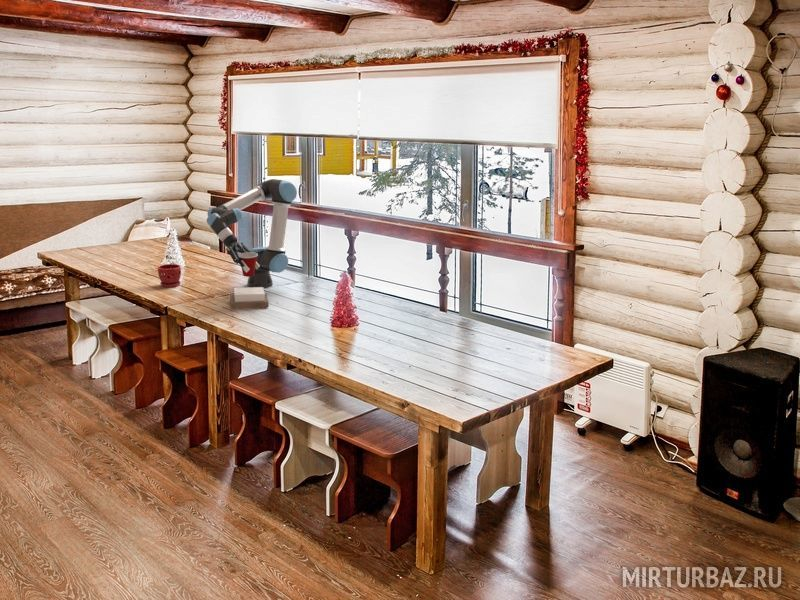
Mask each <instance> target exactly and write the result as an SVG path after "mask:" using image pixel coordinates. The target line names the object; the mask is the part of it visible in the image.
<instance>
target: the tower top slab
mask: <svg viewBox="0 0 800 600" xmlns="http://www.w3.org/2000/svg"><path fill="white" fill-rule="evenodd" d="M265 293H266V292H265V290H264V287H234V288H233V294H234V297H235V302H250V301H265Z"/></svg>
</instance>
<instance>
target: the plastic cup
mask: <svg viewBox="0 0 800 600" xmlns="http://www.w3.org/2000/svg"><path fill="white" fill-rule="evenodd" d="M257 256H258V254H257V253H254V252H245V253H239V257H240V258H241V261H242V260H243V261H244V263H245V264H246V265H247V266H248V268H249V269H250V270H249V271H248V272H247V273H246V272H245V271H244V269H243V268H242V267H241V266H240V267H241V271H242V276H244V277H248V278H249V276H254V271H255V265H256V259H257Z"/></svg>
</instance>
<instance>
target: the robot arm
mask: <svg viewBox="0 0 800 600" xmlns="http://www.w3.org/2000/svg"><path fill="white" fill-rule="evenodd" d="M297 193H298V190H297V187H296V186H295V184H294V183H293V182H291V181H289V180H287V179H286V180H283V179H277V178H272V179H268V180H265V181H262V182H260V183H258V184H257V185H255V186H254V187H253V188H252V189H251V190H249V191H246V192H245V193H243V194H241V195H239V196H236V197H235V198H233V199H231V200H229V201H227V202H226V203H223V204H222V205H219V206H216V207H213V206H212V207H209V209H208V210H207V218H206V223H207V225H208V226H209V228H210V229H211V230H212V231H213V232H214V233H215V235H216V236H217V237H218V238H219V240H220V241H221V242H222V243H223V245H224V246H225V247H226V249H225V250H226V252H228V254H229V255H230V257H231V259H232V261H233V263H234V264H236V265H240V267H242V268H243V269H244V271H245V272H246V273H247V272H248V271H249V270H250V269H249V268H248V266H247V265H246V264H245V263H244V261H243V260H242V261H241V258H240V257H239V254H240V253H245V252H254V253H257V254H258V256H257V259H256V265H255V271H254V276H249V277H248V278H247V281H246V282H247V284H246V285H247V287H249V288H251V287H263V288H268V287H269V286H270V287H271V286H273V278H272V276H271V272H272V273H279V274H280V273H281V272H282V273H283V272H284V271H285V270H286V268H287V267H288V264H289V257H288V255H286V249H285V248H284V245H285V238H286V232H287V231H286V230H287V229H286V228H287V223H288V213H289V207H290V206H292V203H293V201H295V199H296V198H297V195H298V194H297ZM268 199H270V200H271V204H272V205H273V209H272V219H271V225H270V234H269V241H268V246H259V247H253V248H250V249H249V248H248V247H247V246H246V245H245V244H244V243H243V242H240V243H239V242H238V237H237V236H236V235H235V234H234V233H233V231H232V230H231V229H230V228H229V227H230V226H232V225H235V223H238V222H240V221H241V220H243V219H242V218H243V214H242V212H241V211H242V210H244V209H246V208H248V207H250V206H252V205H253V204H255V203H257V202H262V201H266V200H268ZM242 268H241V269H242ZM270 287H269V288H270Z"/></svg>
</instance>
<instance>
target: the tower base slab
mask: <svg viewBox="0 0 800 600" xmlns="http://www.w3.org/2000/svg"><path fill="white" fill-rule="evenodd" d="M264 293H265V301H250V302H235V297H234V293H232V294H229V295H230V296H229V298H230V299H229V300H230V301H229V302H230V310H240V309H239V308H250V309H267V308H266V307H269V298H268V294H267V293H266V292H264ZM263 307H264V308H263ZM236 308H238V309H236Z"/></svg>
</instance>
